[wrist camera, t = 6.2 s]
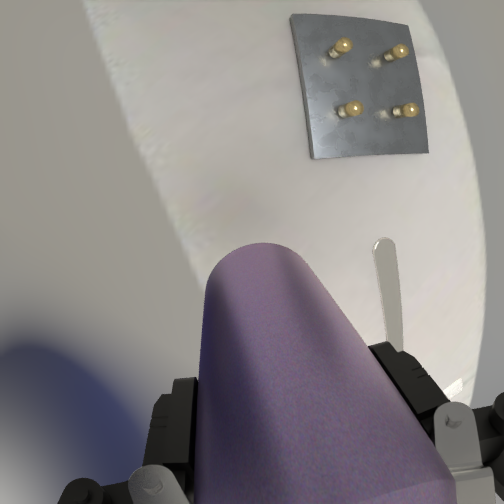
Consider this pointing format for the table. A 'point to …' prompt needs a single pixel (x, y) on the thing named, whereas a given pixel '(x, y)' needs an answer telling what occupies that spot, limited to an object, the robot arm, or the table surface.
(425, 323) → the table surface
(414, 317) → the table surface
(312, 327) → the beverage can
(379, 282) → the wrench
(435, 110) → the table surface
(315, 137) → the chassis plate
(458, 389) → the white plastic blade
